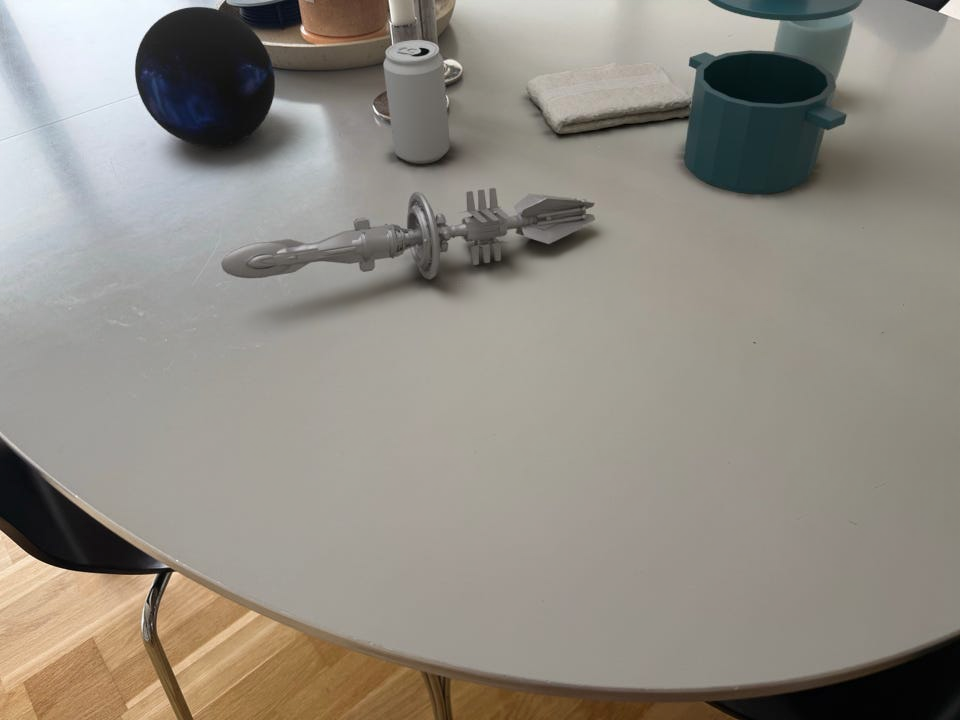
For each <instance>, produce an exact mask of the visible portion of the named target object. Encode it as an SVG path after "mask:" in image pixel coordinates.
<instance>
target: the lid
mask: <svg viewBox="0 0 960 720" xmlns="http://www.w3.org/2000/svg"><path fill="white" fill-rule="evenodd" d="M707 1H708V2H710V3H711V4H712V5H715V6H716V7H718V8H720V9H723V10H725V11H727V12H730V13H734V14H737V15H740V16H743V17H749V18H755V19H760V20H770V21H780V20H781V21H808V20H819V19H826V18H832V17H836V16H840V15H843V14H846V13H848V14H849V13H850V12H852V11H854V10H856V9H857V8H858V7H860V6H861V5H862V3H863V0H707Z"/></svg>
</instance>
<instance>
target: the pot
mask: <svg viewBox="0 0 960 720" xmlns="http://www.w3.org/2000/svg"><path fill="white" fill-rule="evenodd" d="M688 67H690V68H692V69H695V76H694V81H693V82H694V83H693V89H692V95H693V96H692V99H691V104H690V108H691V110H690V115H689V116H688V125H687V132H686V139H685V144H684V145H685V146H684V155H683V161H684V164H685V166H686V167H687V169H688V170H689V171H690V173H691V174H692V175H694V176H695V177H696V178H698V179H700V180H701V181H703V182H704V183H707V184H709V185H711V186H714V187H716V188H720V189H723V190H726V191H731V192H736V193H743V194H753V195H754V194H755V195H759V194H760V195H761V194H762V195H763V194H776V193H782V192H785V191H790V190H792V189H795V188H797V187H799V186H801V185H803V184H804V183H805V182H807V181H808V179H809V178H810V177H811V175H812V174H813V171H814V169H816V164H817V161H818V157H819V153H820V151H821V145H822V142H823V138H824V134H825V131H830V130H833V129H835V128H838V127H840V126H842V125H845V123H846V119H847V116H848V114H847V113H845V112H843V111H841V110H838V109H835V108H834V107H832V104H833V100H834V97H835V93H836V89H837V84H836V83H835V79H834V76H833V75H832V74H831V73H830V72H829V71H828V70H826V69H825V68H824V67H823V66H822V65H820V64H818V63H815V62H813V61H810V60H808V59H805V58H803V57H800V56H795V55H790V54H785V53H780V52H775V51H773V50H771V51H770V50H754V49H753V50H752V49H751V50H741V51H732V52H724V53H722V54H718V55H713V54H711V53H709V52H707V51H704V52H702V53H699V54H696V55H693V56H689V60H688Z"/></svg>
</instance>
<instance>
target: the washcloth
mask: <svg viewBox="0 0 960 720" xmlns="http://www.w3.org/2000/svg"><path fill="white" fill-rule="evenodd" d="M525 90H526V92H527V94H528V96H529V97H530V99H531V101H532V102H534V105H536V106H537V107H539V109H540V111H541V112H542V116H543V118H544V119H545V121H546V123H547V124H548V125H549V126H550V127H551V129H552V130H553V131H554V132H555V133H557V134H559V135H561V134H577V133H581V132H588V131H595V130H600V129H605V128H609V127H615V126H621V125H625V124H642V123H643V124H644V123H648V122H658V121H661V122H662V121H665V120H669V119H670V120H671V119H672V118H681V119H683V118H684V117H690V110H691V103H692V96H693V93H692V94H690V93H688V92H687V91H686V90H684V89H683V87H682V85H680V84H679V83H678V82H677V81H676V80H675V79H674V78H673V76H672V74H670V72H668V71H667V70H666V69H665V68H664V67H663V66H659V65H658V64H656V62H651V61H648V62H645V63H638V64H621V63H618V62H617V61H615V62H610V63H608V64H604V65H600V66H595V67H585V68H576V69H569V70H566V71H565V70H564V71H560V72H554V73H547V74H545V73H544V74H540V75H538V76H535V77H533V78H532V79H529V80H528V81H527V83H526V85H525Z"/></svg>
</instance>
